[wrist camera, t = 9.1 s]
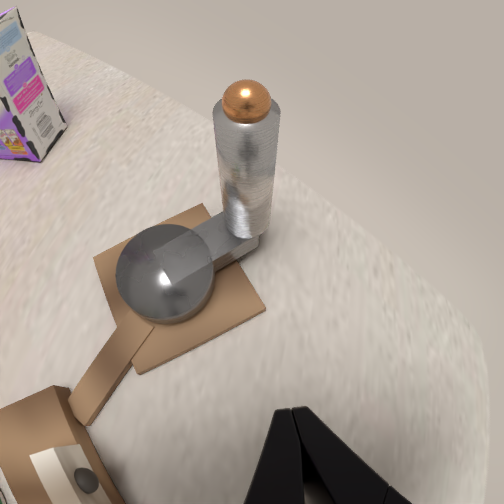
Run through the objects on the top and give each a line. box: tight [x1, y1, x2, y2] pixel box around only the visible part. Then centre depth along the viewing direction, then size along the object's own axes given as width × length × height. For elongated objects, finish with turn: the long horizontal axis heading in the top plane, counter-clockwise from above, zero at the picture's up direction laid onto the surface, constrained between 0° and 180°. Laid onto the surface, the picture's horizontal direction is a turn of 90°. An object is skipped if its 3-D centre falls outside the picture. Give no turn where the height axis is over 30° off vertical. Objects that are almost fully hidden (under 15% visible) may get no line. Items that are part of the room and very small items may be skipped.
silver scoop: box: [115, 80, 280, 324], centre depth 15 cm, size 10×6×11 cm, turn 124°
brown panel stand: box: [0, 203, 266, 504], centre depth 14 cm, size 22×22×5 cm
